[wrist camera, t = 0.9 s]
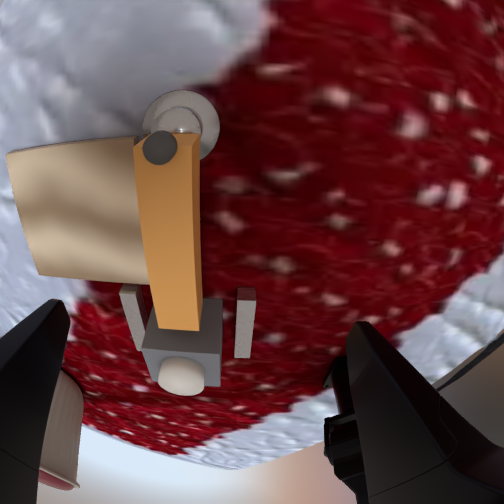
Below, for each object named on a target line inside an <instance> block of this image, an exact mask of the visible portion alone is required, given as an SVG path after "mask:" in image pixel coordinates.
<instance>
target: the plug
mask: <svg viewBox="0 0 504 504" xmlns="http://www.w3.org/2000/svg"><path fill="white" fill-rule="evenodd" d="M222 315H223V299H207V298H203V305H202V312H201V320H200V328H199V331H190V330H175V329H162V328H159V326H158V322H157V317H156V313H155V308H154V304H153V307H152V310H151V314H150V317H149V321H148V324H147V328H146V331H145V335H144V339H143V342H142V346H141V349H142V352H143V355H144V358H145V361H146V364H147V367H148V369H149V372H150V375H151V378H152V380H153V381H156V382H158V383H159V385H160V386H161V387H162V388H163V389H165V390H166V391H169V392H171V393H174V394H178V395H195V394H198V393H200V392H202V391H203V389H204V386H219V387H220V379H221V355H222Z"/></svg>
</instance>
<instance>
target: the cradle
mask: <svg viewBox="0 0 504 504" xmlns="http://www.w3.org/2000/svg"><path fill="white" fill-rule="evenodd" d="M159 130H164V131H168V132H170V133H171V134H181V133H196V134H200V160H201V159H203V158H204V157H205V156H207V155H208V154H209V153H210V152H211V150H212V149H213V148H214V146H215V144H216V142H217V139H218V136H219V132H220V121H219V116H218V113H217V111H216V109H215V107H214V106H213V104H212V103H211V102H210V101H209V100H208V99H207V98H206V97H204V96H202V95H201V94H199V93H196V92H193V91H188V90H177V91H172V92H169V93H166V94H164V95H162V96H160V97H159V98H158V99H156V100H155V101H154V102H153V103H152V104H151V105H150V107H149V108H148V110H147V112H146V114H145V116H144V120H143V127H142V131H143V137H144V138H146V137H147V136H148V135H150V134H152V133H154V132H156V131H159ZM119 294H120V298H121V301H122V305H123V308H124V312H125V315H126V318H127V321H128V324H129V328H130V331H131V334H132V337H133V340H134V343H135V345H136V348H137V350H138V351H142V349H141V346H142V342H143V339H144V335H145V331H146V328H147V324H148V321H149V319H148V315H147V311H146V307H145V302H144V298H143V293H142V289H141V284H133V283H123V286H122V288H121V290H120V292H119ZM255 307H256V289H255V288H244V287H238V289H237V308H236V327H235V358H250V351H251V342H252V333H253V325H254V316H255Z"/></svg>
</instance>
